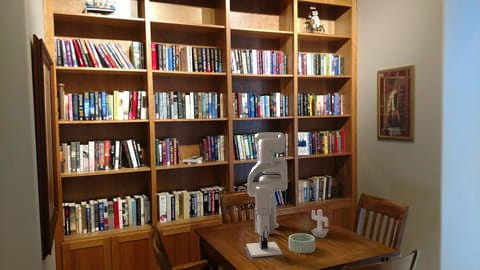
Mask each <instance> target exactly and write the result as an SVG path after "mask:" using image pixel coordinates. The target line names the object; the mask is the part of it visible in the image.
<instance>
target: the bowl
mask: <svg viewBox="0 0 480 270" xmlns="http://www.w3.org/2000/svg"><path fill="white" fill-rule="evenodd" d="M287 245H288V250H289V251H291V252H294V253H297V254H309V253H310V254H311V253H314V252H315V251H316V237H315V236H314V235H311V234H309V233H293V234H290V235H289V236H288V244H287Z"/></svg>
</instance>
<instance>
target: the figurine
mask: <svg viewBox="0 0 480 270" xmlns="http://www.w3.org/2000/svg"><path fill="white" fill-rule="evenodd" d="M311 219H312V220H314V221H316V223H317V226H316V227H315V228H313V229H311V230H310V231H311V233H312V234H313V235H312V236H314V237H315V238H318V239H324V238H325V237H326V235H327V233H328V232H329V229H328V227H329V218H328V217H327V216H323V209H320V208H319V209H317V211H316V210H315V209H312V210H311ZM323 222H324V227H325V228H323Z"/></svg>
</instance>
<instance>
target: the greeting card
mask: <svg viewBox="0 0 480 270" xmlns="http://www.w3.org/2000/svg"><path fill="white" fill-rule="evenodd" d="M256 226H257V214H256V206H254V233H256V234H258V235H259V233H258V231H257V229H256ZM269 226H270V232H269V235H270V234H272V235H274V234H275V229H274V208H271V214H269Z"/></svg>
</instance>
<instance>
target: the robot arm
mask: <svg viewBox="0 0 480 270" xmlns="http://www.w3.org/2000/svg"><path fill="white" fill-rule="evenodd" d="M285 142H286V136H285V134H284V133H283V132H280V131H279V132H277V131H276V132H275V131H274V132H271V131H269V132H267V131H266V132H264V131H262V132H257V133H255V135H254V143H255V144H256V146H257V149H256V153H257V155H256V165H254V166H253V167H252V168H251V170H250V172H249V174H248V176H247V187H246V190H247V191H246V192H247V194H248V196H249V197H254V198H255V207H256V214H257V226H256V229H257V231H258V233H259V234H258V233H257V234H258V235H262V240H261V248H268V242H269V235H270V233H269V232H270V226H269V214H271V208H274V230H275V229H278V228H279V226H280V224H279V223H278V222H277V198H276V195H275V193H276V192H285V191H286V190H287V189H288V181H289V180H288V162H287V160H286V159H285V158H283V157H275V154H282V153H284V151H285V148H286V147H285V144H286V143H285ZM260 173H263V174H265V175H261V176H259V177H258V181H254V179H255V177H256V176H257V175H259V174H260ZM263 236H264V237H263Z"/></svg>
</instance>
